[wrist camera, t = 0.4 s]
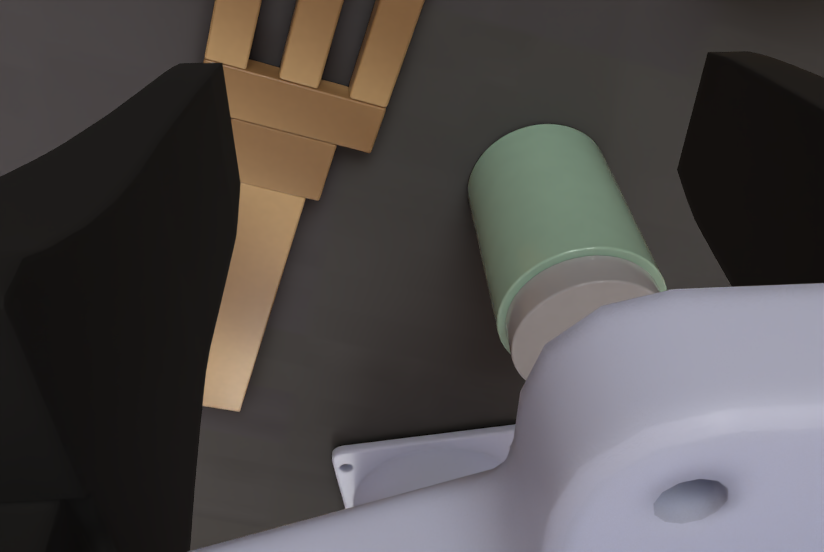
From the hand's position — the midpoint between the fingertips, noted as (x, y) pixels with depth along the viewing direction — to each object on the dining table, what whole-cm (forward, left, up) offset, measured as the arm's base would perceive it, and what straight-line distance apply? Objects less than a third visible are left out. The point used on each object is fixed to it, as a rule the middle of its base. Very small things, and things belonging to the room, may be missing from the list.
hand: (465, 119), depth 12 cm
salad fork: (-8, +5, -10) cm, 14 cm away
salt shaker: (-8, -3, -10) cm, 13 cm away
